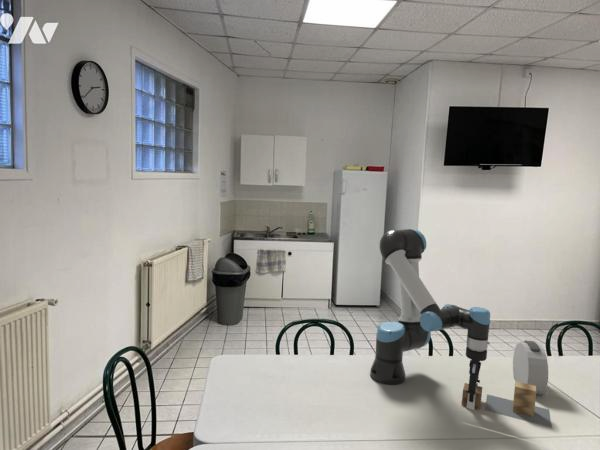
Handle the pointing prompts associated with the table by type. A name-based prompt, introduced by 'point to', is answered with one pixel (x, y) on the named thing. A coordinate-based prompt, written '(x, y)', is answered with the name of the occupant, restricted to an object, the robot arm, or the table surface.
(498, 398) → the slate mat
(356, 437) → the table surface
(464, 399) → the walnut cube
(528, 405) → the oak block lower
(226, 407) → the table surface
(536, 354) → the alarm clock
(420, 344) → the robot arm
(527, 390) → the oak block upper
